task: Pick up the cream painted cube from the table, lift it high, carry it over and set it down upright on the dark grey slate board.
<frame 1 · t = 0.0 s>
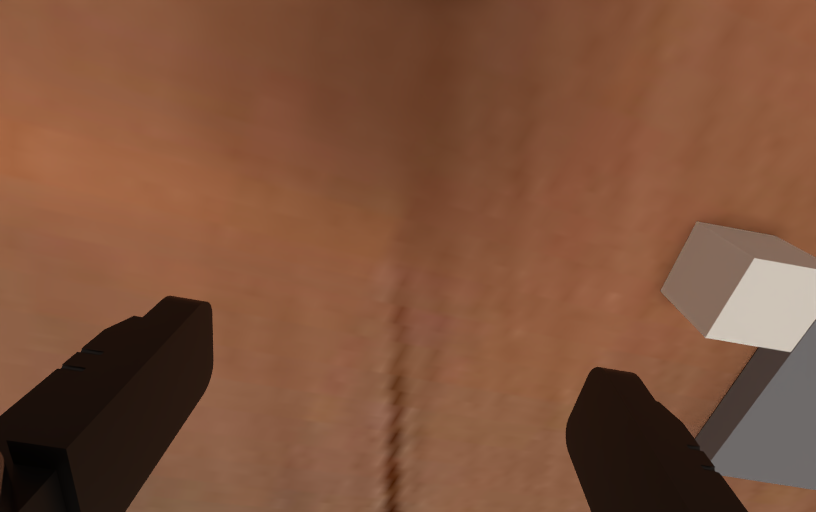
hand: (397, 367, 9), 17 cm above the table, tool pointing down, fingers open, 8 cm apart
cube: (714, 263, 26), on the table
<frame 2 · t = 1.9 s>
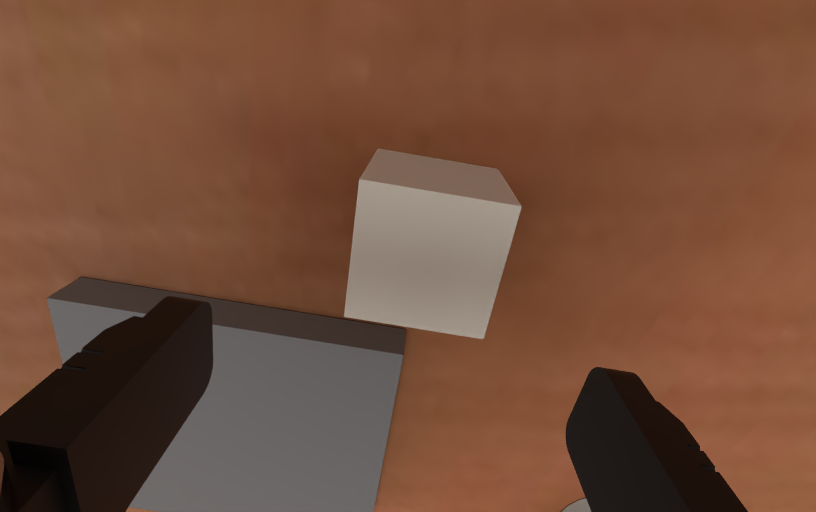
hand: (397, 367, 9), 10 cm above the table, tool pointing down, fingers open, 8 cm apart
cube: (427, 215, 18), on the table
slate board: (245, 408, 23), on the table
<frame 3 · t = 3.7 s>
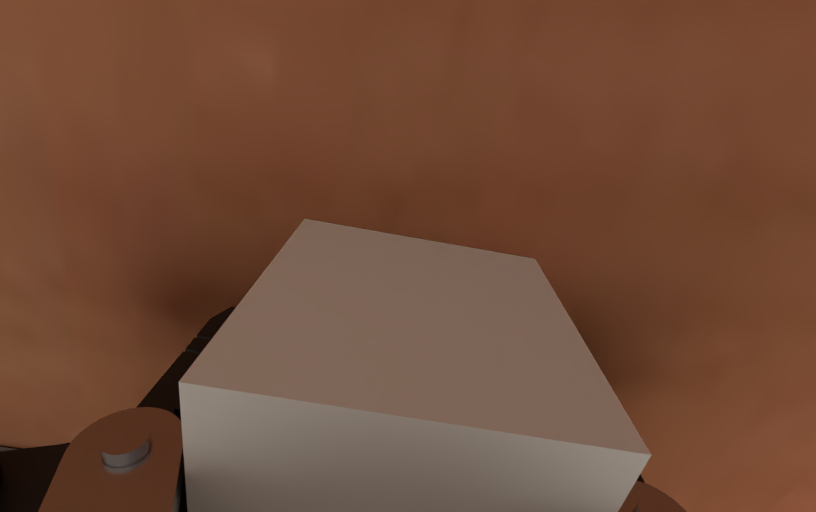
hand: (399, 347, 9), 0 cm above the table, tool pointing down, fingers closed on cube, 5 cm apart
cube: (401, 334, 10), on the table, touching gripper
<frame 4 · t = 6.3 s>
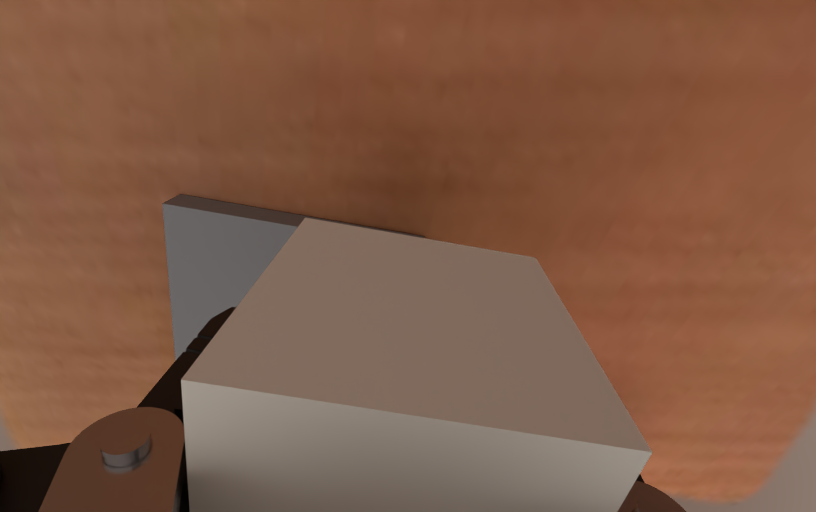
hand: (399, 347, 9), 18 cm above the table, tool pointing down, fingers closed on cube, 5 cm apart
cube: (402, 333, 10), point 17 cm above the table, touching gripper
slate board: (297, 306, 30), on the table
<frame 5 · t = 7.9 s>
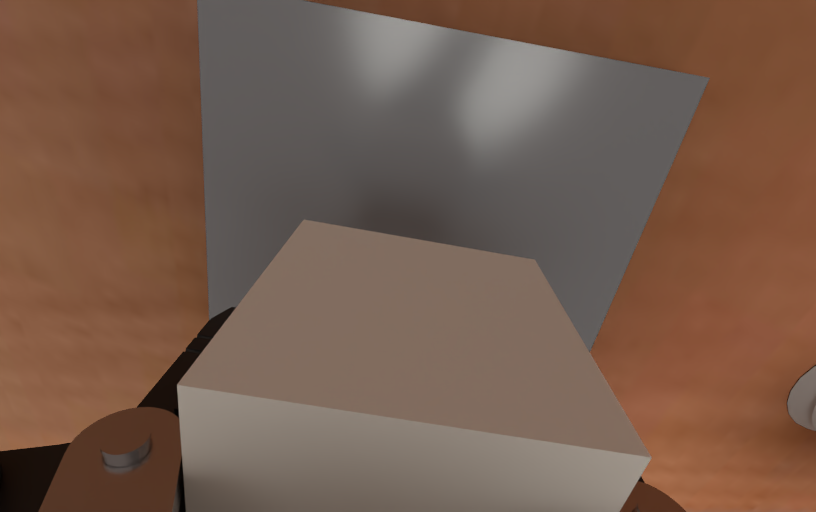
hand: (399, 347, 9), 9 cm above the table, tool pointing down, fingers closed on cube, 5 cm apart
cube: (401, 335, 10), point 8 cm above the table, touching gripper
slate board: (418, 220, 18), on the table
when the fingers open (4 cm above the table, at t = 9.2 s): cube drops 1 cm, resting on slate board.
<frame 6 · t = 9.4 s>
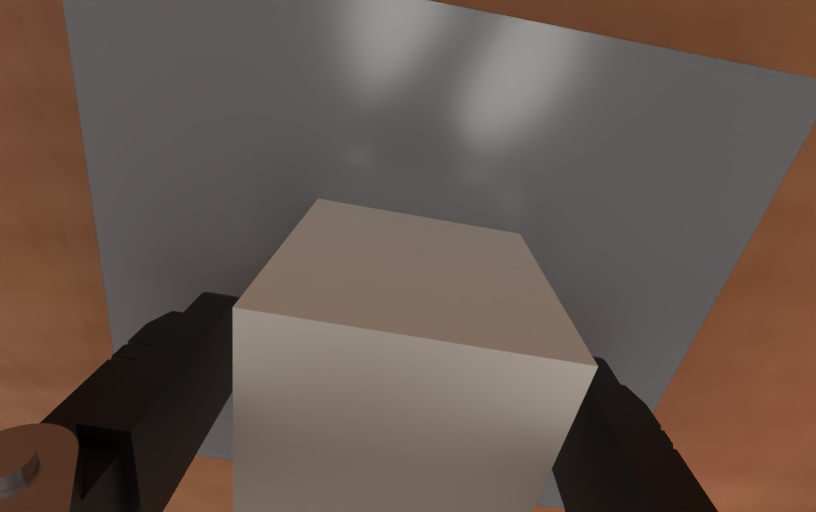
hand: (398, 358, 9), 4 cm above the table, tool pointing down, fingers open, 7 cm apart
cube: (403, 303, 11), point 2 cm above the table, touching slate board
slate board: (405, 271, 13), on the table
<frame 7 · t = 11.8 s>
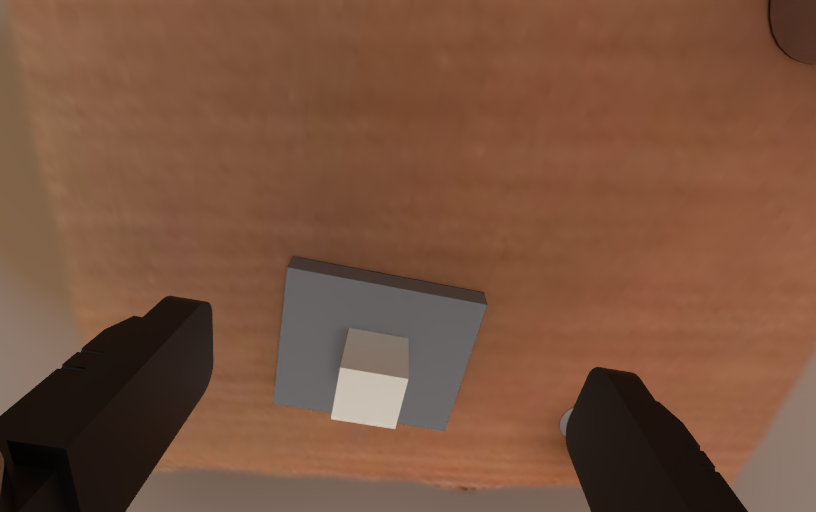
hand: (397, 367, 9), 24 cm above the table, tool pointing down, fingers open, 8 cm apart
cube: (373, 357, 36), point 2 cm above the table, touching slate board
slate board: (375, 343, 37), on the table
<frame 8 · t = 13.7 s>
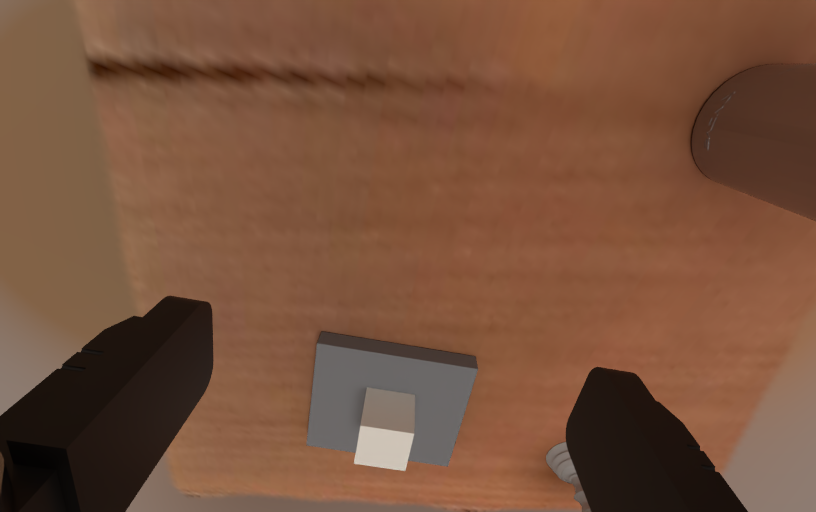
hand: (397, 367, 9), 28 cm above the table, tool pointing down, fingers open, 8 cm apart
chalice: (567, 455, 49), on the table
cube: (387, 409, 44), point 2 cm above the table, touching slate board
slate board: (388, 395, 46), on the table
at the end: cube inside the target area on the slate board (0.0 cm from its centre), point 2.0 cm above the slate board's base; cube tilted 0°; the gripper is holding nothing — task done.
